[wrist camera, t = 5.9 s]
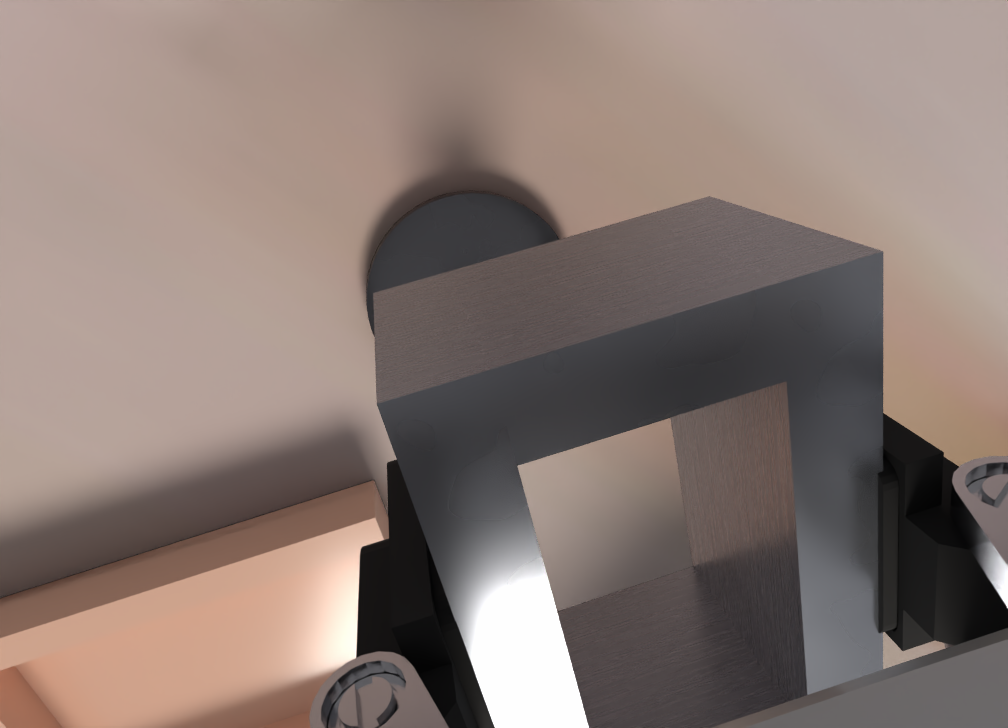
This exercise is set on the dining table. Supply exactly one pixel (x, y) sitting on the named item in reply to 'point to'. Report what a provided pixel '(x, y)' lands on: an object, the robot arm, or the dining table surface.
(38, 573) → the dining table surface
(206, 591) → the tray
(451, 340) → the frame
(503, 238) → the dark knobbed lid
